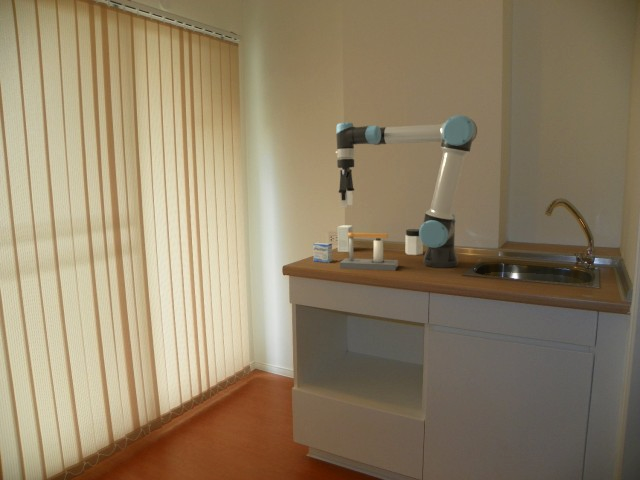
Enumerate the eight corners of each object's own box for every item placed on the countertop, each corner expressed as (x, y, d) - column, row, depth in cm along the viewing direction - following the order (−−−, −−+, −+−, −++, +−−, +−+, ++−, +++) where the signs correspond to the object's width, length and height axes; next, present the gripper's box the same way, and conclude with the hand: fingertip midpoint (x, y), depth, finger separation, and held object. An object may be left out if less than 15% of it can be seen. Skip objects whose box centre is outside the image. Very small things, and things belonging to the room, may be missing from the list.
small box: (341, 248, 265) (341, 224, 262) (353, 249, 262) (353, 225, 260) (337, 251, 257) (337, 226, 255) (348, 252, 255) (348, 227, 253)
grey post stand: (397, 266, 218) (398, 236, 216) (395, 271, 208) (395, 240, 206) (345, 264, 224) (344, 235, 222) (340, 269, 215) (339, 238, 213)
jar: (413, 255, 242) (413, 231, 240) (401, 253, 249) (402, 230, 247) (426, 253, 247) (426, 230, 245) (414, 251, 254) (415, 228, 252)
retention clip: (388, 237, 213) (388, 233, 213) (387, 238, 211) (387, 234, 210) (348, 236, 218) (348, 232, 218) (347, 237, 215) (347, 233, 215)
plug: (383, 266, 217) (383, 237, 215) (382, 268, 213) (382, 239, 211) (374, 266, 218) (374, 237, 216) (372, 268, 214) (372, 239, 212)
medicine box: (313, 261, 232) (312, 243, 231) (317, 260, 236) (317, 242, 235) (328, 263, 229) (327, 244, 227) (332, 261, 233) (332, 243, 231)
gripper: (342, 159, 231) (344, 204, 234) (331, 158, 207) (333, 209, 210) (358, 158, 229) (359, 203, 232) (348, 158, 205) (350, 208, 208)
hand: (347, 206), depth 221 cm, fingers open, 13 cm apart
